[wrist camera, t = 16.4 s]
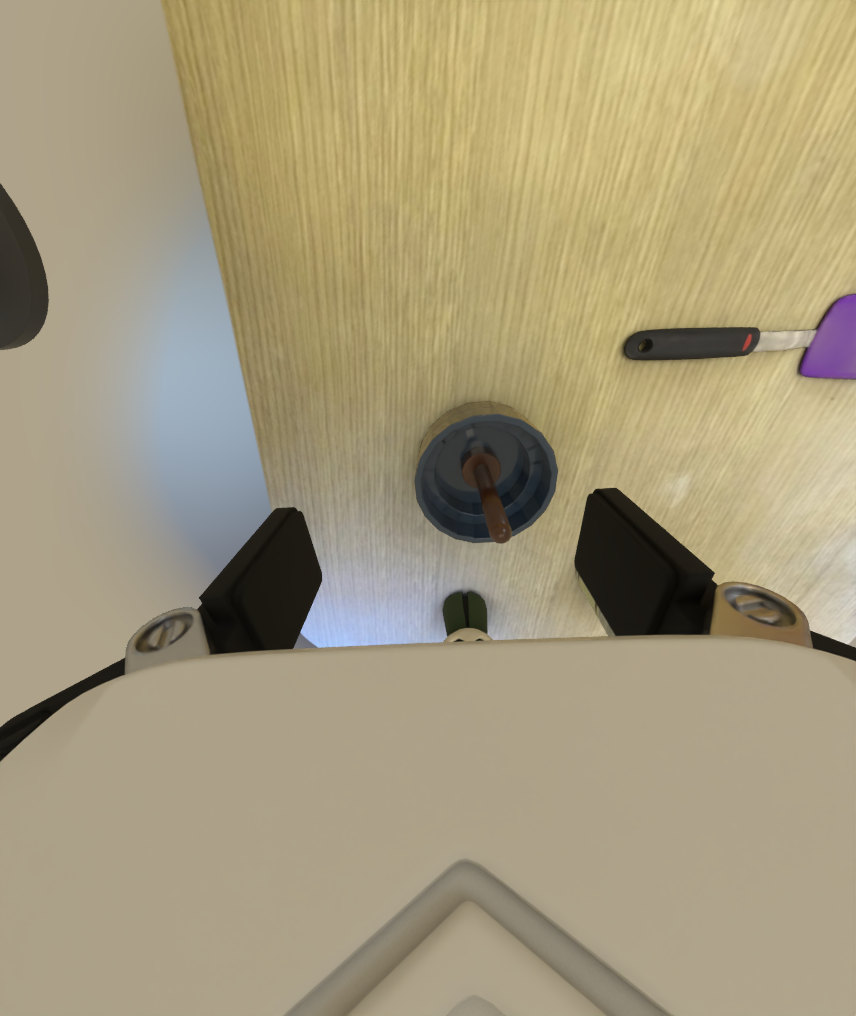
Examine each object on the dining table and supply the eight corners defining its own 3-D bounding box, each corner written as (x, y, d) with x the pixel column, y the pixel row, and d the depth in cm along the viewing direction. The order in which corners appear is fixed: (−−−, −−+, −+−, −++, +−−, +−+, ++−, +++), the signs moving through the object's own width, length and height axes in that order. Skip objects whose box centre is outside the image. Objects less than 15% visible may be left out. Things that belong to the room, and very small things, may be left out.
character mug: (503, 585, 44) (526, 675, 32) (500, 620, 47) (520, 712, 36) (425, 587, 44) (421, 676, 33) (428, 622, 48) (425, 713, 36)
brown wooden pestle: (461, 481, 35) (474, 562, 23) (460, 447, 33) (473, 516, 21) (497, 479, 35) (529, 560, 23) (498, 445, 33) (534, 512, 21)
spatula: (611, 382, 30) (624, 387, 28) (632, 298, 27) (649, 296, 25) (871, 377, 29) (905, 380, 27) (926, 289, 26) (970, 286, 24)
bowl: (423, 516, 38) (421, 545, 33) (412, 405, 32) (407, 420, 27) (533, 510, 38) (548, 539, 32) (545, 395, 31) (566, 408, 26)
